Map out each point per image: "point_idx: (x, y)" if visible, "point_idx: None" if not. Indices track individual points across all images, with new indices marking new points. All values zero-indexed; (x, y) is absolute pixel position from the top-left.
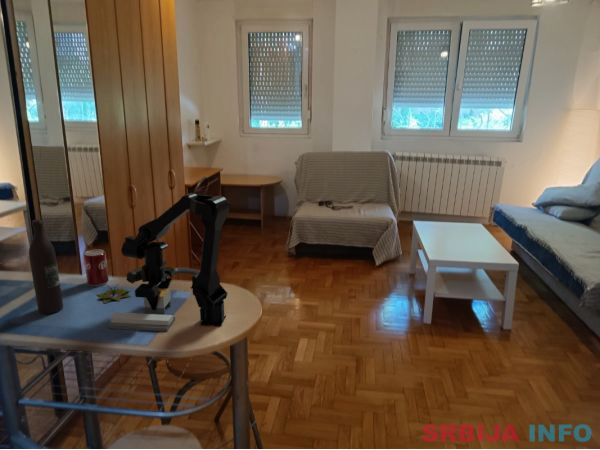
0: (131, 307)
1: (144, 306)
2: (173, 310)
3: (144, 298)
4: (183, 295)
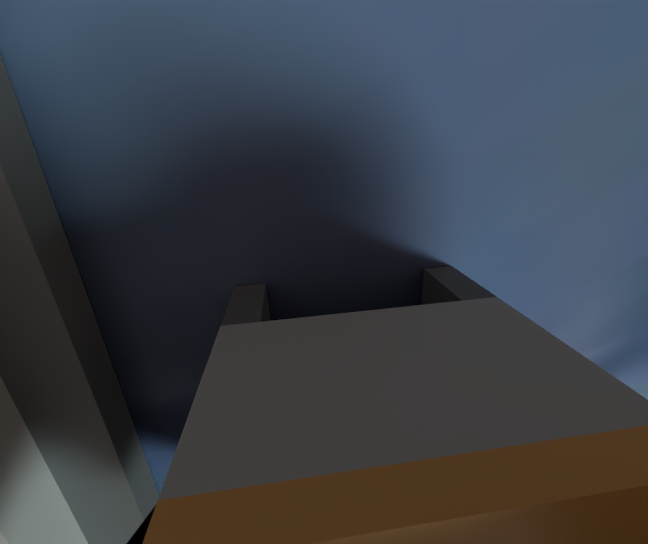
0: (348, 4)
1: (220, 333)
2: None
3: (179, 483)
4: None
